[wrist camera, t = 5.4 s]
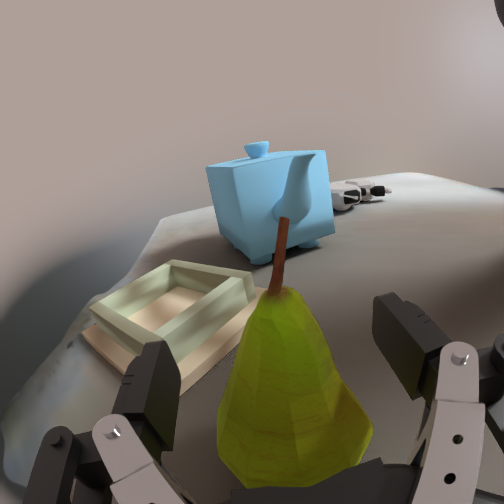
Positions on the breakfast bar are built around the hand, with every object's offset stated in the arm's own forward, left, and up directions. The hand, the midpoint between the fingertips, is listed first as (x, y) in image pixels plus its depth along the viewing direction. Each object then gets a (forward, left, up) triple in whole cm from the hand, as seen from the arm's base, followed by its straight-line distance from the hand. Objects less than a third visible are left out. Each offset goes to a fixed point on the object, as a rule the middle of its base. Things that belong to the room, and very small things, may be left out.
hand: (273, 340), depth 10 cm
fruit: (+1, +1, -7) cm, 7 cm away
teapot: (-23, -15, -7) cm, 28 cm away
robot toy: (-45, -13, -7) cm, 47 cm away
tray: (-5, -15, -7) cm, 17 cm away
